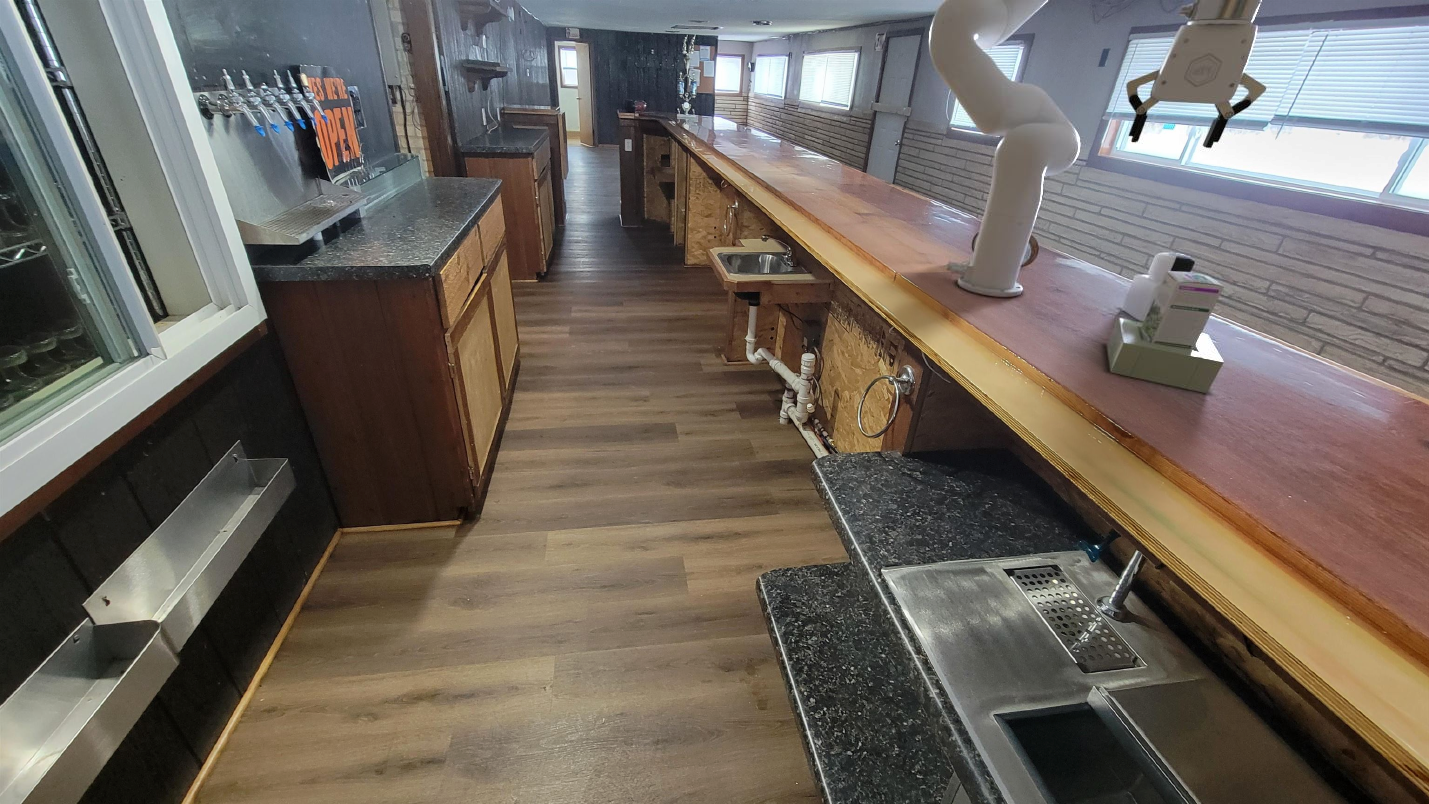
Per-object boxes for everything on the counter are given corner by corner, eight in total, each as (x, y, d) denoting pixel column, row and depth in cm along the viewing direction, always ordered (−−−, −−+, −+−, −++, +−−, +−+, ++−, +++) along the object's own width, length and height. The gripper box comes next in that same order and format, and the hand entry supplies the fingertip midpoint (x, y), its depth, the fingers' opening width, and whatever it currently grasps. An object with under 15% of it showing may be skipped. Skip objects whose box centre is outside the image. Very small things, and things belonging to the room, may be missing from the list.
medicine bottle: (1157, 311, 111) (1185, 251, 106) (1179, 325, 105) (1210, 261, 99) (1119, 308, 112) (1145, 248, 106) (1139, 322, 106) (1167, 258, 100)
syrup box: (1180, 378, 85) (1228, 285, 78) (1136, 371, 86) (1179, 279, 79) (1167, 363, 90) (1211, 274, 82) (1125, 357, 91) (1165, 269, 84)
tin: (1032, 270, 134) (1044, 235, 129) (1027, 273, 132) (1039, 236, 127) (971, 256, 143) (980, 222, 139) (965, 258, 141) (975, 224, 137)
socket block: (1110, 372, 86) (1123, 342, 83) (1106, 345, 95) (1118, 318, 92) (1206, 393, 81) (1224, 362, 78) (1193, 363, 90) (1207, 334, 88)
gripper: (1153, 12, 82) (1107, 141, 90) (1308, 11, 75) (1243, 151, 83) (1148, 17, 87) (1105, 138, 96) (1291, 17, 80) (1231, 148, 89)
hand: (1169, 144), depth 90 cm, fingers open, 9 cm apart
